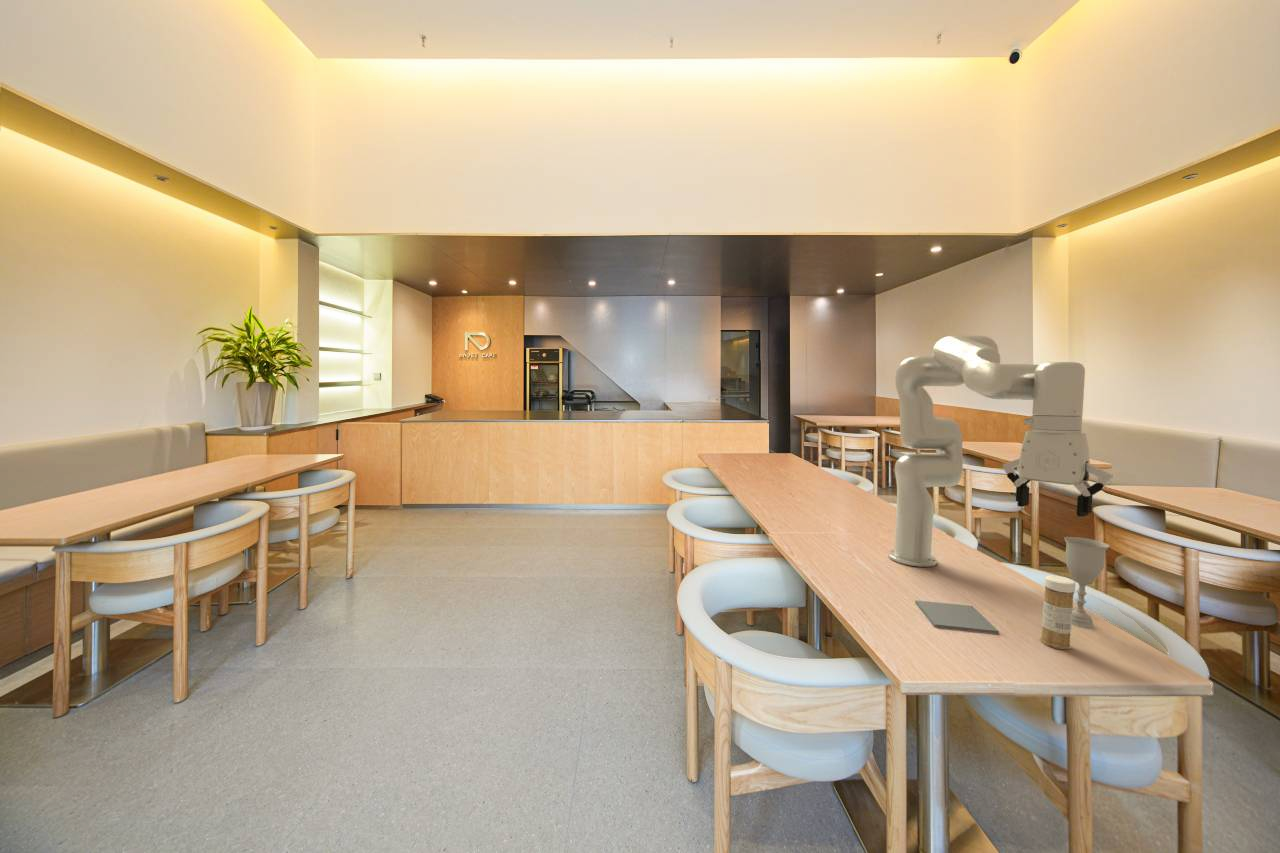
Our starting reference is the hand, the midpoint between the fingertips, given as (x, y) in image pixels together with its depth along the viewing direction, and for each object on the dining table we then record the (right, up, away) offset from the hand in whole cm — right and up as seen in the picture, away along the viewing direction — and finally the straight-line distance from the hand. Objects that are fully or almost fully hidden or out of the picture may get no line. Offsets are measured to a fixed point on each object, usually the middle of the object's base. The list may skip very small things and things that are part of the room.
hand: (1051, 510), depth 96 cm
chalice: (+14, -26, +9) cm, 31 cm away
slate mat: (-12, -26, +11) cm, 30 cm away
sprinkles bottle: (+1, -27, 0) cm, 27 cm away
